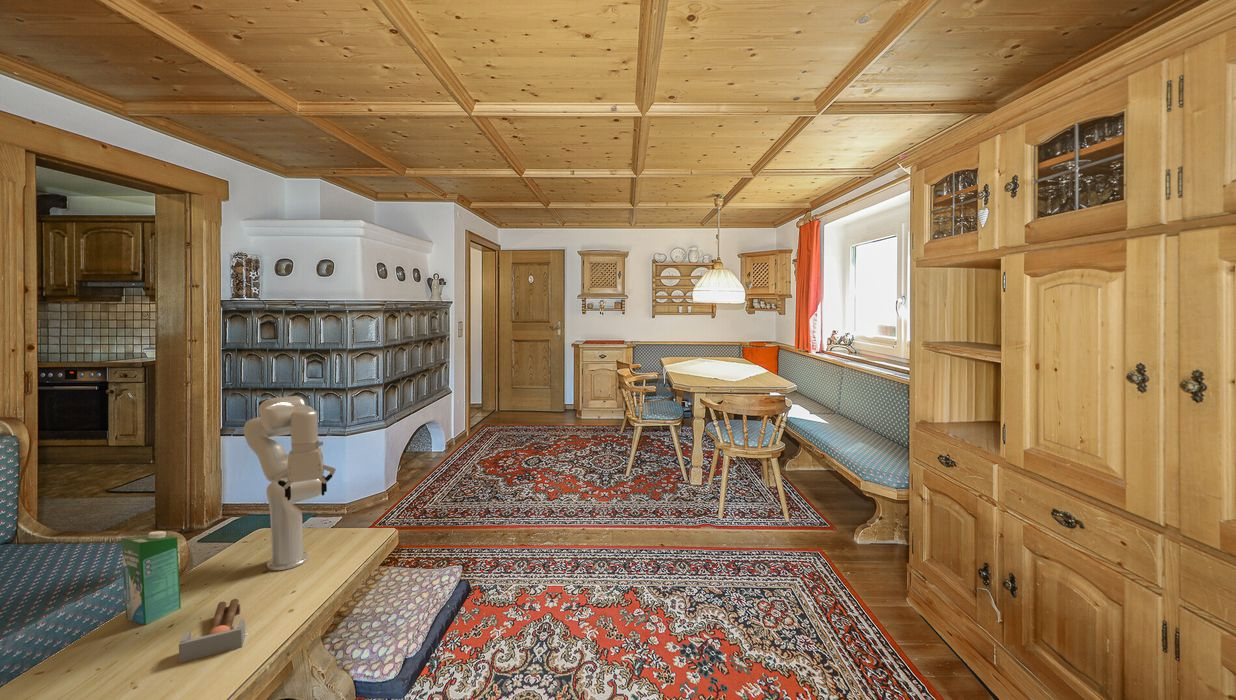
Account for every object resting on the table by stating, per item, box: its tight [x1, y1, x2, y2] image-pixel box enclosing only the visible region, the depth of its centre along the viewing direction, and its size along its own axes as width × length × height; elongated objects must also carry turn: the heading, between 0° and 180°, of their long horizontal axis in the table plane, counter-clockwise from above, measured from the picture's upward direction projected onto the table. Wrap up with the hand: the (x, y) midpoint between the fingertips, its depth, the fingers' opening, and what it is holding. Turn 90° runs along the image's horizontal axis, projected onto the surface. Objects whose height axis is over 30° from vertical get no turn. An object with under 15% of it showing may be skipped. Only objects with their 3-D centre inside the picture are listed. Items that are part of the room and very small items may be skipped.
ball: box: [208, 624, 231, 635], centre depth 132 cm, size 5×5×5 cm
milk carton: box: [121, 530, 182, 626], centre depth 144 cm, size 9×9×25 cm
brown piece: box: [207, 598, 241, 635], centre depth 140 cm, size 12×6×4 cm, turn 29°
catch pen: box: [178, 618, 247, 663], centre depth 130 cm, size 5×13×5 cm, turn 119°
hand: (306, 496), depth 161 cm, fingers open, 9 cm apart
